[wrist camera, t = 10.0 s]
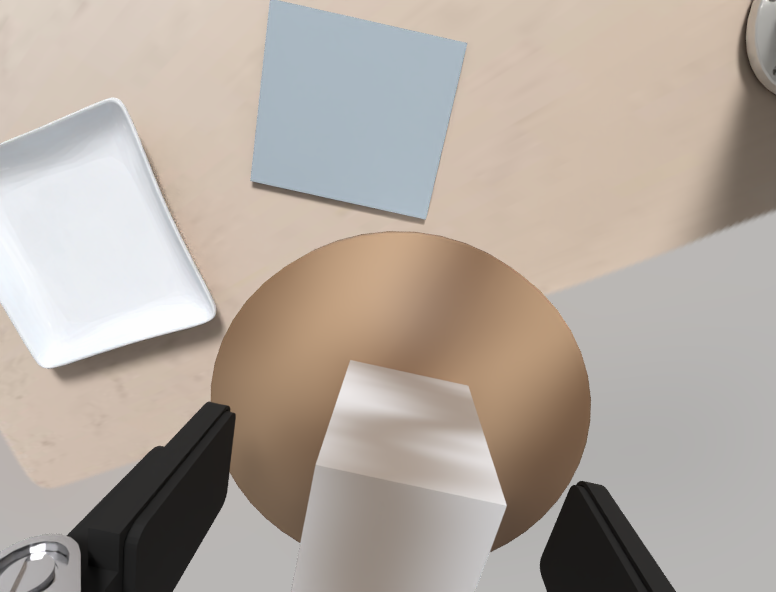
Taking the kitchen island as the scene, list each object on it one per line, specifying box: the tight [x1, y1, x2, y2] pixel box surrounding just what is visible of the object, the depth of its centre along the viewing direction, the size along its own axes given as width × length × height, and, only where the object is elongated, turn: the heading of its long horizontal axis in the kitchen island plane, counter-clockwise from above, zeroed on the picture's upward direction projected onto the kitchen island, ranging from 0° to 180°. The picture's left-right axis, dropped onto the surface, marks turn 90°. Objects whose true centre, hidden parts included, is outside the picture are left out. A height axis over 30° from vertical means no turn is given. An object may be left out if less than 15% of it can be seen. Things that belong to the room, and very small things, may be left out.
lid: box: [211, 231, 591, 592], centre depth 11 cm, size 13×13×6 cm
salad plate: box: [0, 98, 217, 369], centre depth 38 cm, size 21×21×3 cm
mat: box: [251, 0, 467, 219], centre depth 34 cm, size 17×15×1 cm
